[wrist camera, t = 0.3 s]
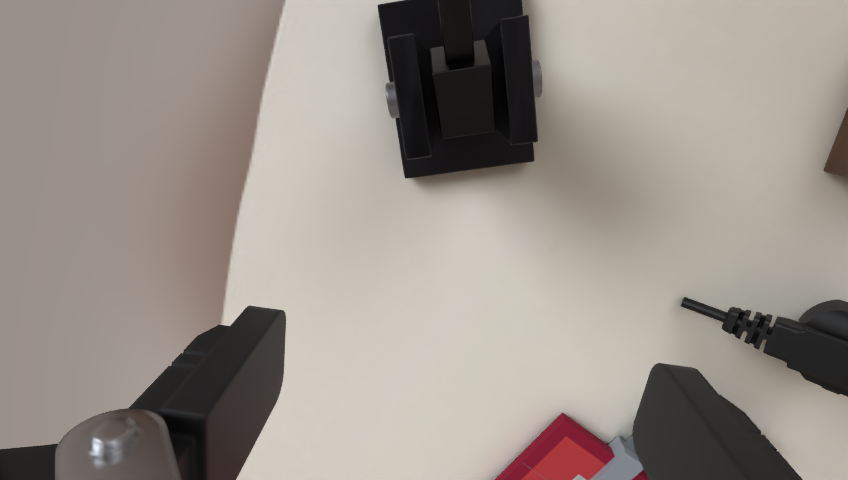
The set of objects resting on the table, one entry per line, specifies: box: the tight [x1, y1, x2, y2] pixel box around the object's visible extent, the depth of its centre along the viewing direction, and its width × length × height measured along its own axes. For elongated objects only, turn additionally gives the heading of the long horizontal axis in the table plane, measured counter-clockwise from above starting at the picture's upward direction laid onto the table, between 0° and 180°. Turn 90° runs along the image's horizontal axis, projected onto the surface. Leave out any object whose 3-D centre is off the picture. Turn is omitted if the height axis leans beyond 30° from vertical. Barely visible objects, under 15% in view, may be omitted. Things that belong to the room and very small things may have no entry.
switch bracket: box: [378, 0, 542, 178], centre depth 24 cm, size 10×8×13 cm
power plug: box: [681, 297, 848, 396], centre depth 33 cm, size 6×8×12 cm
